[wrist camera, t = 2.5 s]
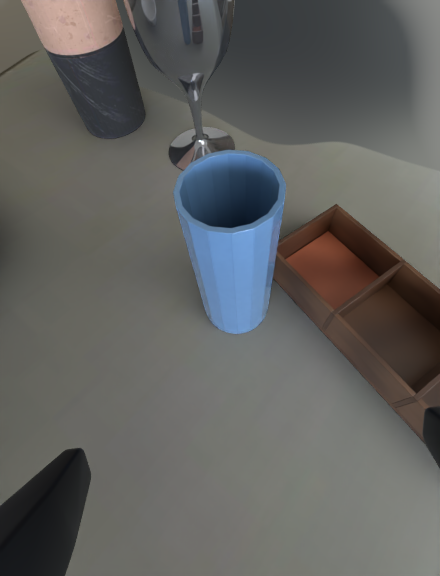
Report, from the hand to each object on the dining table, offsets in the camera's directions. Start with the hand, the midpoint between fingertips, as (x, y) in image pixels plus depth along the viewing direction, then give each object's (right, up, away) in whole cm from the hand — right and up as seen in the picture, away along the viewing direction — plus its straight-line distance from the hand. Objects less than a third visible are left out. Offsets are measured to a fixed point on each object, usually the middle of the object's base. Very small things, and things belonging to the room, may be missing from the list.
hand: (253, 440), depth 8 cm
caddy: (+11, 0, +15) cm, 19 cm away
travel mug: (-13, +24, +29) cm, 40 cm away
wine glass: (-3, +19, +26) cm, 32 cm away
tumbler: (0, +3, +17) cm, 17 cm away
